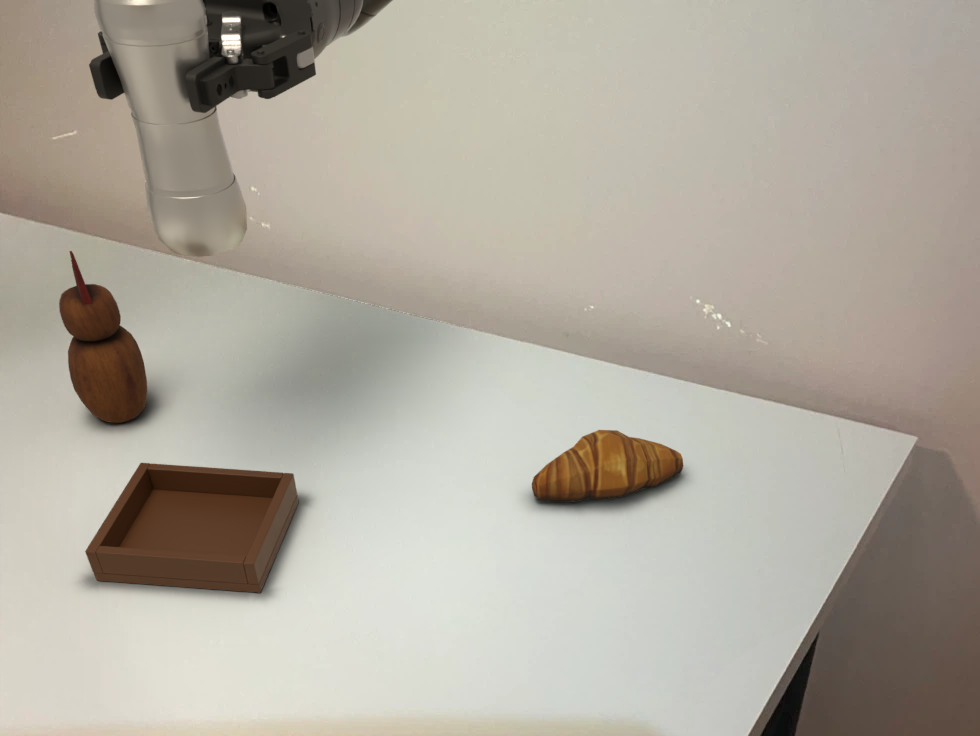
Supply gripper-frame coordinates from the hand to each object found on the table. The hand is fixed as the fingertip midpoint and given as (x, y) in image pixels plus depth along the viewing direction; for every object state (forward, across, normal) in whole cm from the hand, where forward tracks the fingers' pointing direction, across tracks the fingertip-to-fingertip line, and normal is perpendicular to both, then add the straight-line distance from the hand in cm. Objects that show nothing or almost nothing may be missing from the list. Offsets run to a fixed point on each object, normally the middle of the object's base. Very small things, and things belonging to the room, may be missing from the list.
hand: (146, 88), depth 64 cm
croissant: (-9, +30, +30) cm, 43 cm away
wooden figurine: (-6, -15, +30) cm, 34 cm away
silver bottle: (-2, 0, +11) cm, 11 cm away
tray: (+8, +1, +29) cm, 30 cm away
